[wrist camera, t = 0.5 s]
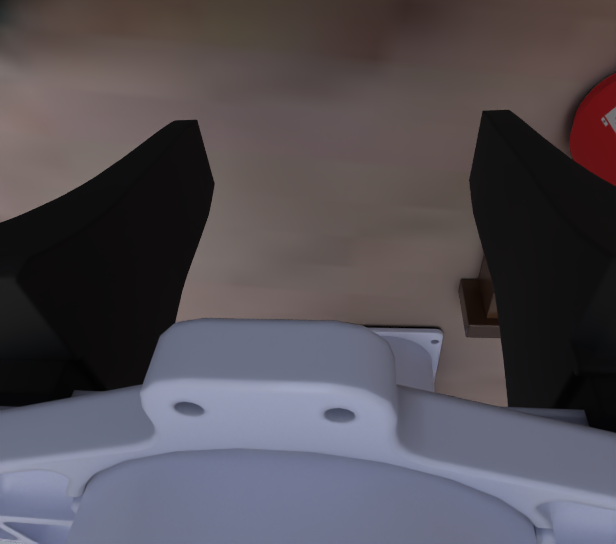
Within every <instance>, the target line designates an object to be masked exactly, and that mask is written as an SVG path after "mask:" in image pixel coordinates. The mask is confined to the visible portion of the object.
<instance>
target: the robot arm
mask: <svg viewBox="0 0 616 544" xmlns="http://www.w3.org/2000/svg"><path fill="white" fill-rule="evenodd" d="M469 182H470V191H471V200H472V208H473V214H474V218H475V222H476V225H477V229H478V233H479V237H480V240H481V244H482V247H483V251H484V254H485V258H486V262H487V265H488V269H489V272H490V276H491V280H492V284H493V289H494V293H495V300H496V306H497V313H498V320H499V327H500V335H501V343H502V351H503V359H504V369H505V379H506V388H507V399H508V407H498V406H493V405H489V404H484V403H480V402H475V401H471V400H467V399H462V398H458V397H453V396H449V395H444V394H440V393H435V387H434V380H435V375H436V370H437V365H438V360H439V355H440V350H441V345H442V340H443V333H442V331H441V330H439V329H416V328H366V327H365V326H363V325H358V324H352V323H346V322H341V321H335V320H286V319H233V318H201V319H195V320H188V321H182V322H178V323H175V321H176V316H177V312H178V307H179V303H180V299H181V294H182V290H183V287H184V283H185V280H186V277H187V274H188V271H189V269H190V266H191V263H192V260H193V258H194V255H195V252H196V249H197V247H198V244H199V241H200V238H201V236H202V233H203V230H204V227H205V224H206V221H207V218H208V215H209V211H210V207H211V202H212V196H213V190H214V185H215V184H214V180H213V176H212V173H211V169H210V165H209V162H208V158H207V154H206V151H205V147H204V143H203V140H202V136H201V132H200V129H199V125H198V121H197V120H177V121H173V122H171V123H170V124H168V125H167V126H165V127H164V128H162V129H161V130H159V131H158V132H157V133H155V134H154V135H153V136H151V137H150V138H149V139H147V140H146V141H145V142H143V143H142V144H141V145H139V146H138V147H137V148H135V149H134V150H133V151H131V152H130V153H129V154H128V155H126V156H125V157H123V158H122V159H121V160H119V161H118V162H116V163H115V164H113V165H112V166H110V167H109V168H107V169H106V170H105V171H103V172H102V173H100V174H99V175H97V176H96V177H94V178H93V179H91V180H89V181H88V182H86V183H84V184H83V185H81V186H79V187H77V188H76V189H74V190H72V191H70V192H68V193H67V194H65V195H63V196H61V197H59V198H57V199H55V200H53V201H51V202H48V203H46V204H44V205H42V206H40V207H37V208H35V209H33V210H31V211H29V212H27V213H24V214H22V215H19V216H17V217H14V218H12V219H9V220H7V221H4V222H1V223H0V540H3V541H10V542H15V543H22V544H616V186H615V185H613V184H611V183H609V182H607V181H605V180H604V179H602V178H600V177H598V176H597V175H595V174H593V173H592V172H590V171H589V170H587V169H586V168H584V167H583V166H581V165H580V164H578V163H577V162H575V161H574V160H572V159H571V158H570V157H568V156H567V155H565V154H564V153H563V152H561V151H560V150H559V149H557V148H556V147H555V146H553V145H552V144H551V143H550V142H548V141H547V140H546V139H545V138H543V137H542V136H541V135H540V134H539V133H537V132H536V131H535V130H534V129H533V128H531V127H530V126H529V125H528V124H526V123H525V122H524V121H523V120H522V119H520V118H519V117H518V116H517V115H515V114H514V113H513V112H511V111H510V110H490V111H483V112H482V117H481V122H480V127H479V133H478V138H477V143H476V148H475V153H474V158H473V164H472V169H471V174H470V179H469Z"/></svg>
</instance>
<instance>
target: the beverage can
mask: <svg viewBox="0 0 616 544" xmlns="http://www.w3.org/2000/svg"><path fill="white" fill-rule="evenodd" d="M572 127H573V128H572V131H571V134H570V151H571V155H572V157H573V159H574V161H575V162H577V163H578V164H580V165H581V166H583V167H584V168H586V169H587V170H589V171H590V172H592V173H593V174H595V175H597V176H598V177H600V178H602V179H604V180H605V181H607V182H609V183H611V184H613V185H615V186H616V72H614V73H612V74H611V75H609V76H607V77H606V78H604V79H603V80H602V81H600V82H599V83H598V84H597V85H595V86H594V87H593V88H592V89H591V90H590V91H589V92H588V93H587V95H586V96H585V97H584V98H583V100H582V101H581V103H580V104H579V106H578V108H577V110H576V112H575V115H574V119H573V126H572Z"/></svg>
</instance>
